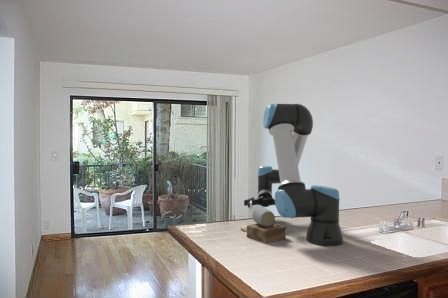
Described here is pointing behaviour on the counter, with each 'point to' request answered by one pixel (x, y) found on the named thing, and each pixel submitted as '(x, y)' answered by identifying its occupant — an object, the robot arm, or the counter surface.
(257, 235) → the walnut base block
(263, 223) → the ceramic mug
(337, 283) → the counter surface
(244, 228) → the cork coaster
